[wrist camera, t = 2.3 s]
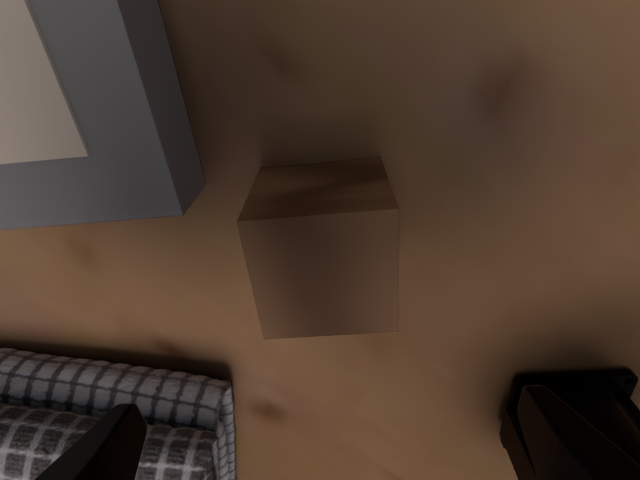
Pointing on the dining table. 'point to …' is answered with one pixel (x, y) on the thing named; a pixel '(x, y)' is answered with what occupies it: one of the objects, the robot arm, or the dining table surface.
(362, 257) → the walnut cube
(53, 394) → the towel
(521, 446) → the robot arm
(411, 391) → the dining table surface
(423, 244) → the dining table surface
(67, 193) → the pedestal
